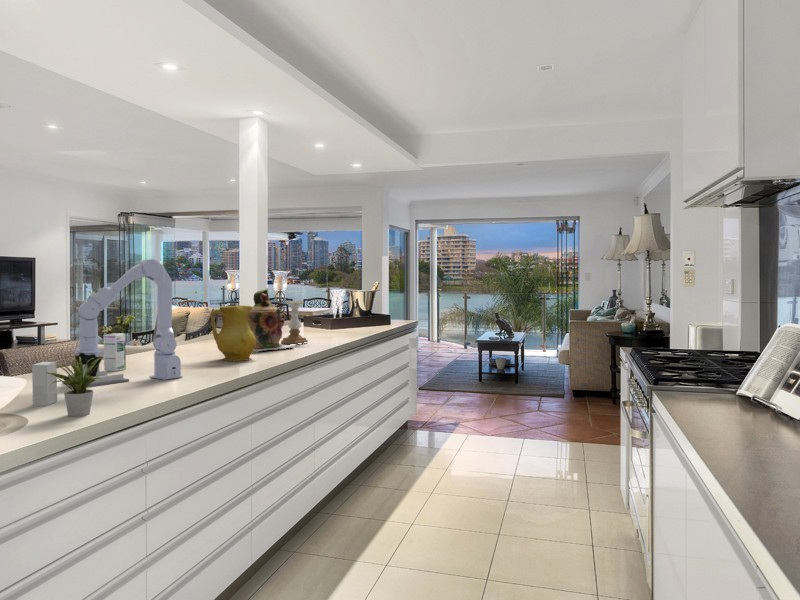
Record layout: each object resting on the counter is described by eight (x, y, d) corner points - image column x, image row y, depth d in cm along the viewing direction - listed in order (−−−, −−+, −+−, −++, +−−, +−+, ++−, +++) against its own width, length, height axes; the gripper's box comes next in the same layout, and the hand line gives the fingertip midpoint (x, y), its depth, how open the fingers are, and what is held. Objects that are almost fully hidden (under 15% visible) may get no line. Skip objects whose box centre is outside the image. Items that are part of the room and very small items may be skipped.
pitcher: (242, 362, 264) (241, 304, 264) (206, 361, 270) (205, 306, 270) (263, 358, 280) (262, 304, 280) (229, 358, 286) (228, 305, 286)
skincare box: (42, 401, 179) (42, 361, 179) (57, 401, 179) (57, 361, 179) (31, 406, 173) (31, 364, 173) (47, 406, 173) (47, 364, 173)
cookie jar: (229, 348, 316) (230, 287, 315) (268, 345, 335) (268, 287, 334) (258, 352, 300) (258, 288, 299) (296, 348, 319) (297, 288, 318)
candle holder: (295, 345, 335) (295, 302, 334) (280, 343, 341) (280, 301, 340) (308, 343, 344) (308, 301, 343) (294, 342, 350) (294, 301, 349)
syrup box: (116, 371, 236) (116, 334, 236) (103, 370, 238) (103, 334, 237) (126, 369, 242) (125, 333, 241) (113, 368, 243) (112, 332, 243)
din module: (99, 380, 211) (99, 364, 211) (85, 382, 207) (85, 366, 207) (93, 378, 213) (93, 363, 213) (79, 380, 209) (79, 365, 209)
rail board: (129, 381, 215) (129, 373, 215) (84, 387, 202) (84, 379, 202) (107, 377, 223) (107, 369, 223) (63, 383, 210) (62, 375, 210)
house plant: (81, 406, 174) (80, 349, 173) (120, 409, 170) (120, 352, 169) (38, 416, 160) (38, 355, 159) (80, 421, 156) (80, 358, 155)
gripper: (66, 336, 210) (66, 375, 211) (88, 339, 202) (88, 379, 203) (86, 334, 216) (86, 372, 217) (108, 337, 208) (108, 376, 208)
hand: (88, 375), depth 210 cm, fingers closed on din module, 4 cm apart
